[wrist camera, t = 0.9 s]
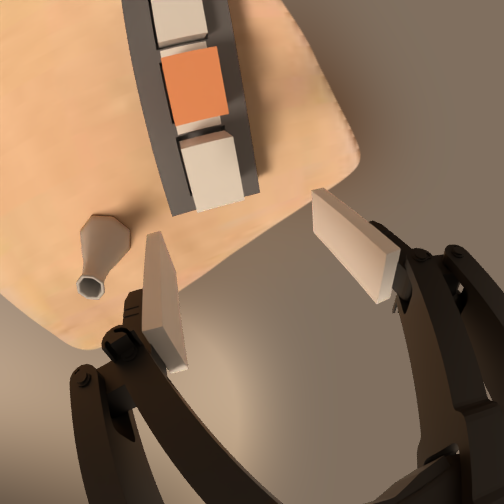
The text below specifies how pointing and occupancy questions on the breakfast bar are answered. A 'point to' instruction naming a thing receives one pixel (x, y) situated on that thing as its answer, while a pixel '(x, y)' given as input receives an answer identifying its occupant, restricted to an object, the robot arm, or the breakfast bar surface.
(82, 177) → the breakfast bar surface
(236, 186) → the switch
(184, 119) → the switch
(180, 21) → the switch
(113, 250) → the flask
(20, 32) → the breakfast bar surface
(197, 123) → the power strip
